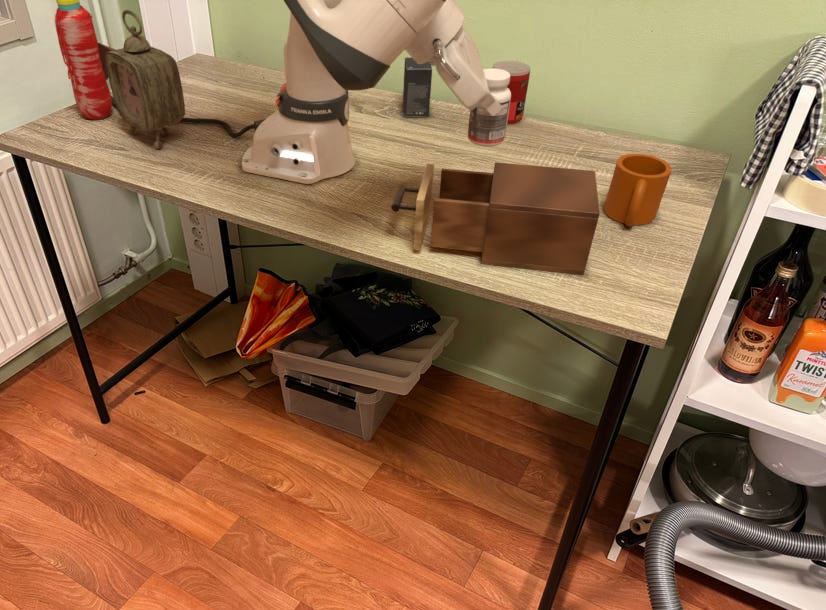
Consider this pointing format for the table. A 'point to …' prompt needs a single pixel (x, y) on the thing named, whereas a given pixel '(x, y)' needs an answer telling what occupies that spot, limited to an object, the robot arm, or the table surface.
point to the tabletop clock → (145, 84)
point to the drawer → (450, 208)
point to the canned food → (516, 87)
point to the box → (416, 88)
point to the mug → (637, 189)
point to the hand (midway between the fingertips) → (494, 101)
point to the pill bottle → (481, 122)
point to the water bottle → (83, 59)
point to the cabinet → (541, 218)
